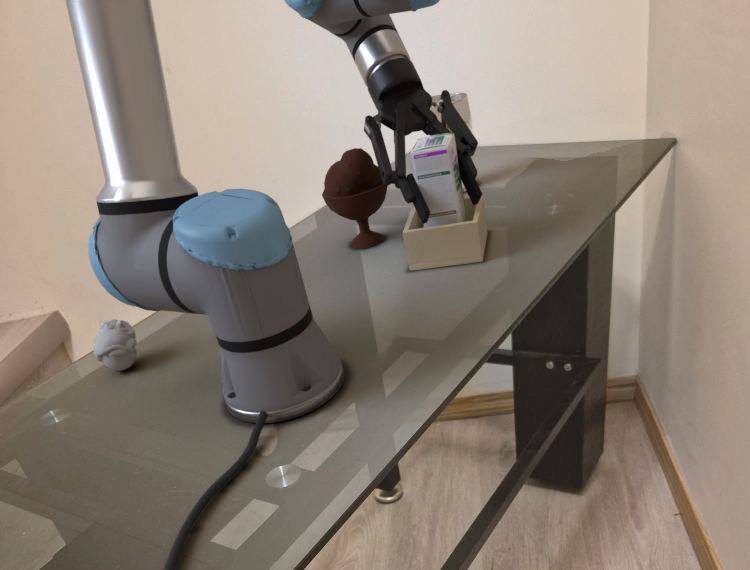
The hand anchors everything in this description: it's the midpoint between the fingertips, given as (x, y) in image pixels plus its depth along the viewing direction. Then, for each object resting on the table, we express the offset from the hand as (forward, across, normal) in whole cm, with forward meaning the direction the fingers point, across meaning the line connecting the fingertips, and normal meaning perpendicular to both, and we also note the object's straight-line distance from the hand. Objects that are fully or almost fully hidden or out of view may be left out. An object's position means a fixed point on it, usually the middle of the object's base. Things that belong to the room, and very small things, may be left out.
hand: (452, 208), depth 107 cm
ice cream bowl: (-8, +8, -18) cm, 22 cm away
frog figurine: (+2, +52, -9) cm, 53 cm away
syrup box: (+2, 0, -6) cm, 7 cm away
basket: (+3, 0, -8) cm, 8 cm away
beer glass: (-14, -14, -25) cm, 32 cm away
